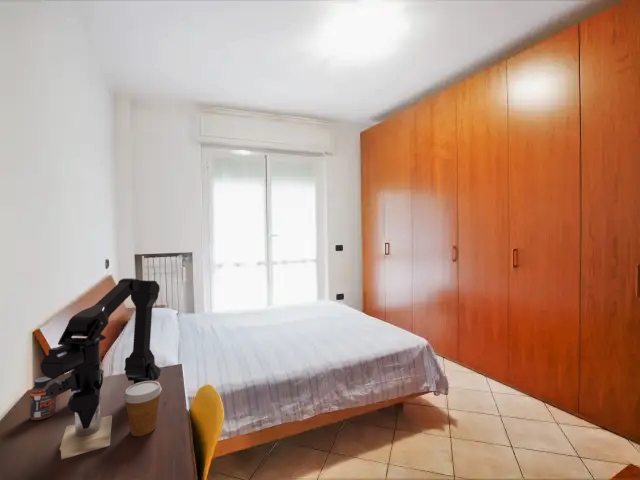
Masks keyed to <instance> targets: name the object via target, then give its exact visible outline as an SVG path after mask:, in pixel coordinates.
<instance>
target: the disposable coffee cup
mask: <svg viewBox="0 0 640 480" xmlns="http://www.w3.org/2000/svg"><path fill="white" fill-rule="evenodd" d="M133 384H134V383H133ZM161 393H162V386H161V384H160V382H158V381H156V380H155V381H144V382H139V383H136V384H134V385H132V384H131V385H130V386H128V387H127V388H126V389H125V392H124V394H123V397H122V398H123V400H124V402H125V405H126V412H127V417H128V418H127V419H128V425H129V431H130V432H129V433H130V435H131V436H134V437H143V436H146V435H148V434H150V433H152V432H153V431H154V430H155V429H156V428H157V427H156V426H157V420H158V412H159V406H160V405H159V403H160V396H161Z"/></svg>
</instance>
